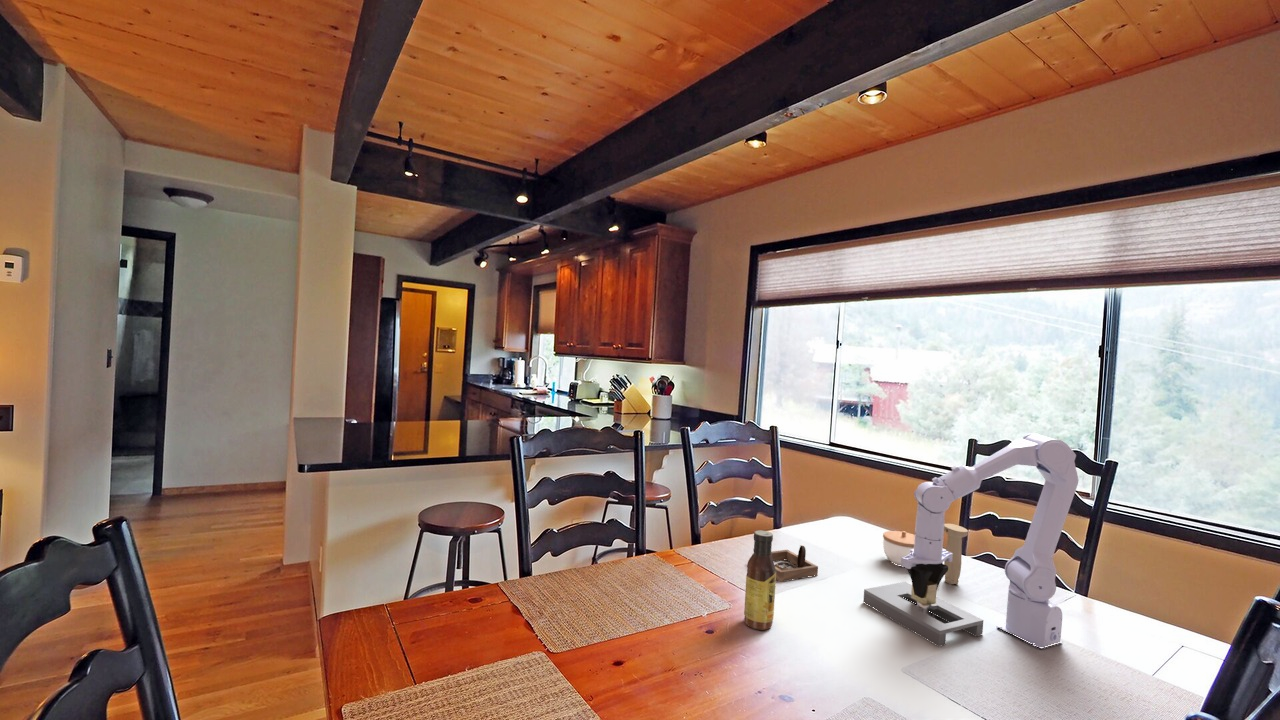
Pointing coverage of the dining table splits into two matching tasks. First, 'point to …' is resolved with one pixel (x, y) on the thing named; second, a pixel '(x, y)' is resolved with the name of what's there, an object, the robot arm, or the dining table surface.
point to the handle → (954, 551)
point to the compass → (799, 562)
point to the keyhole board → (912, 616)
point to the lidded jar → (897, 545)
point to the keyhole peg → (926, 598)
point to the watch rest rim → (793, 573)
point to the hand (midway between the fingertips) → (924, 595)
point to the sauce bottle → (760, 583)
